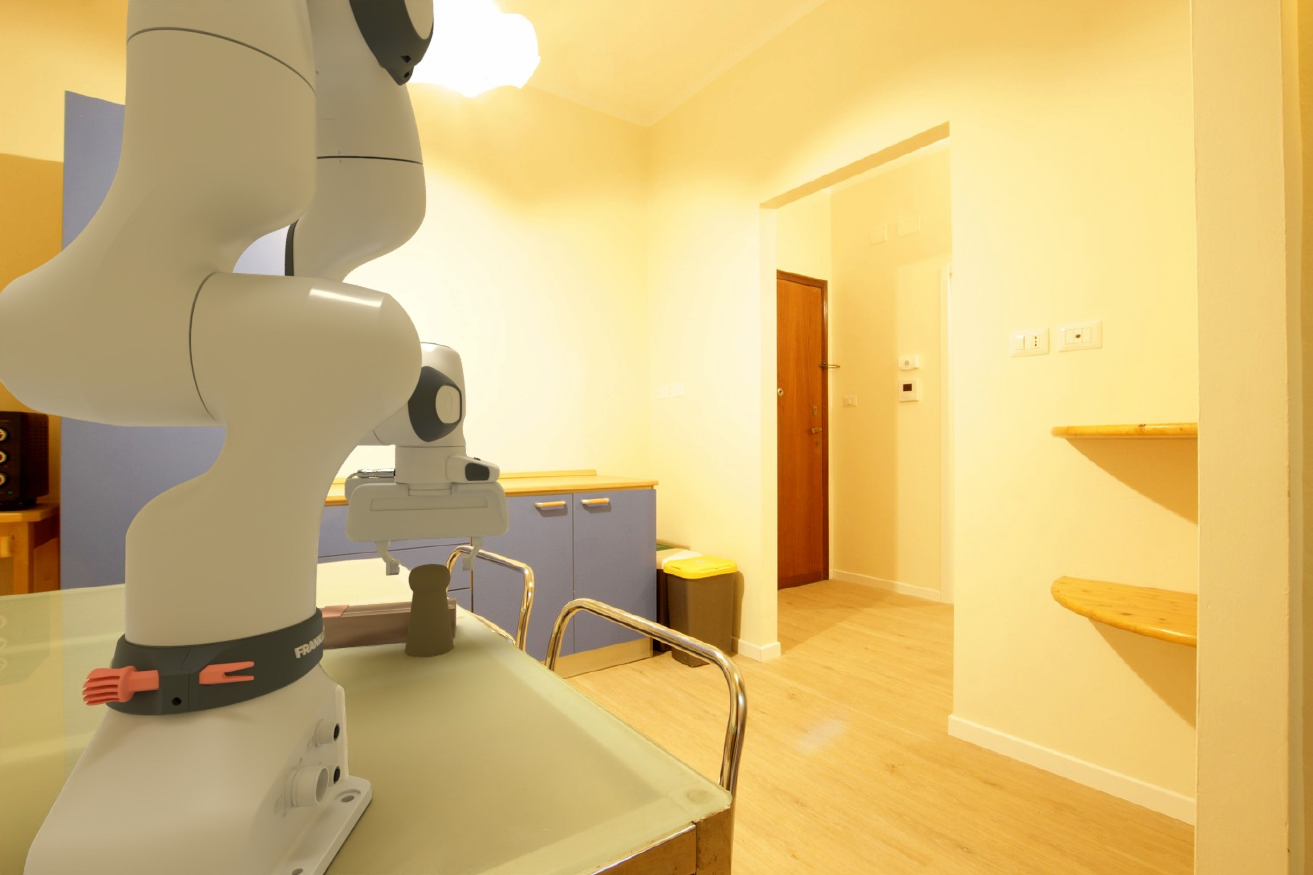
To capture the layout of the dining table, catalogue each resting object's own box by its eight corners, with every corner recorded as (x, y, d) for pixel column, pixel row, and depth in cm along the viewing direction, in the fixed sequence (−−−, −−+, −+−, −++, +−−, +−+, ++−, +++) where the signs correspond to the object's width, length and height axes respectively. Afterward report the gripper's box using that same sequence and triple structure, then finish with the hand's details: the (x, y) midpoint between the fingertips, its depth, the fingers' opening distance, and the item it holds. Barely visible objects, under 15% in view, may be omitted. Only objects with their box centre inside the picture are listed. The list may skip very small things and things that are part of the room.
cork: (421, 660, 75) (421, 571, 75) (395, 650, 79) (395, 566, 79) (463, 647, 80) (463, 564, 80) (436, 638, 84) (436, 559, 84)
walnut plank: (454, 637, 84) (454, 607, 84) (292, 651, 78) (292, 619, 79) (456, 625, 90) (456, 596, 90) (305, 637, 84) (305, 607, 84)
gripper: (339, 471, 74) (339, 583, 74) (510, 468, 80) (510, 572, 80) (349, 467, 80) (349, 571, 80) (508, 465, 86) (508, 562, 86)
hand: (431, 572), depth 80 cm, fingers open, 8 cm apart
